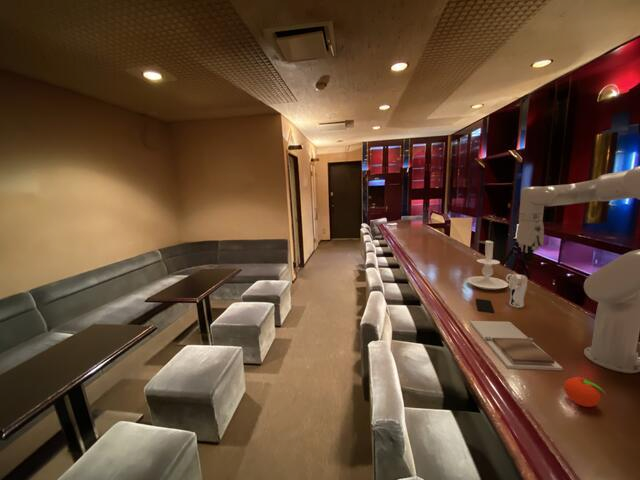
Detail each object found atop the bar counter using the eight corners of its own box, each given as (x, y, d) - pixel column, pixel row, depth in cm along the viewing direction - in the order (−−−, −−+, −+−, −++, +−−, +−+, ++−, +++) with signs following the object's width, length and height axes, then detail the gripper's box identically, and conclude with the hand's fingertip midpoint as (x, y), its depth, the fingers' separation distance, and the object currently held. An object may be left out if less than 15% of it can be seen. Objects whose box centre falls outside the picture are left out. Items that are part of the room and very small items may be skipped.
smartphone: (490, 300, 135) (494, 312, 122) (490, 301, 135) (494, 314, 122) (475, 298, 138) (477, 310, 125) (475, 299, 138) (477, 311, 125)
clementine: (602, 403, 71) (606, 379, 69) (606, 420, 65) (610, 395, 64) (562, 389, 76) (565, 367, 75) (562, 404, 71) (565, 381, 69)
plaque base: (562, 370, 83) (563, 364, 83) (507, 368, 86) (507, 362, 85) (509, 323, 112) (509, 318, 112) (469, 323, 115) (469, 318, 114)
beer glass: (528, 308, 125) (531, 278, 122) (511, 308, 126) (514, 278, 124) (520, 302, 132) (522, 274, 129) (504, 302, 133) (506, 273, 130)
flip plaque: (527, 338, 97) (526, 341, 98) (492, 337, 99) (492, 340, 99) (554, 360, 84) (554, 364, 84) (513, 359, 86) (513, 362, 86)
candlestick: (522, 295, 140) (527, 244, 134) (470, 292, 148) (473, 243, 143) (509, 282, 159) (512, 237, 154) (463, 280, 167) (465, 237, 162)
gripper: (554, 219, 98) (549, 266, 101) (529, 215, 112) (525, 256, 116) (532, 220, 99) (528, 266, 102) (509, 216, 113) (506, 257, 117)
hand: (526, 261), depth 109 cm, fingers closed
